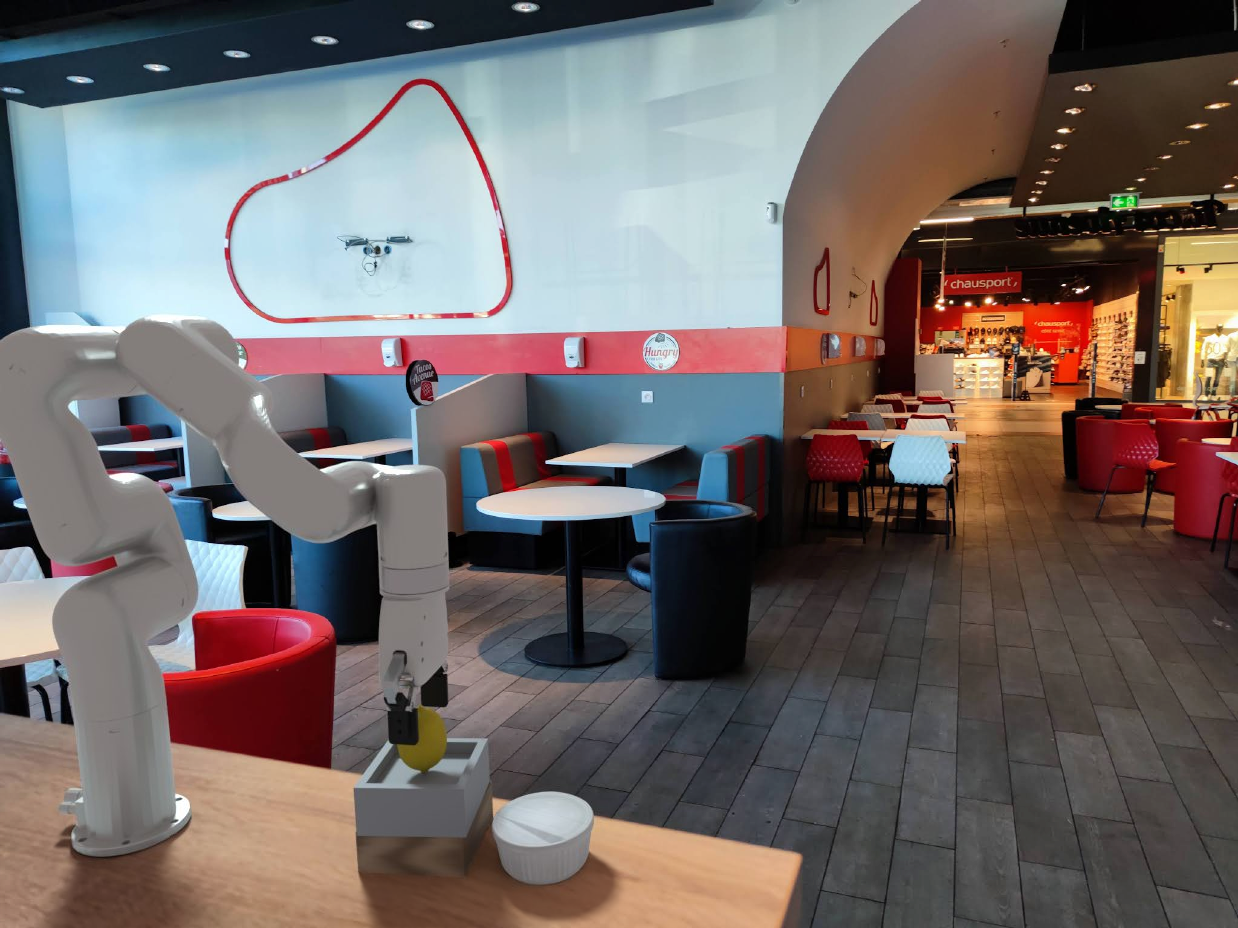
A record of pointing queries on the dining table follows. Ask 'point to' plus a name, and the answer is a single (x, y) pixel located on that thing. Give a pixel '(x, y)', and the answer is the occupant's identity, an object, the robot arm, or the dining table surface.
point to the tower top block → (423, 792)
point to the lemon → (426, 742)
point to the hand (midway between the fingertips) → (420, 723)
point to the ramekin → (543, 836)
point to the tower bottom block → (426, 849)
